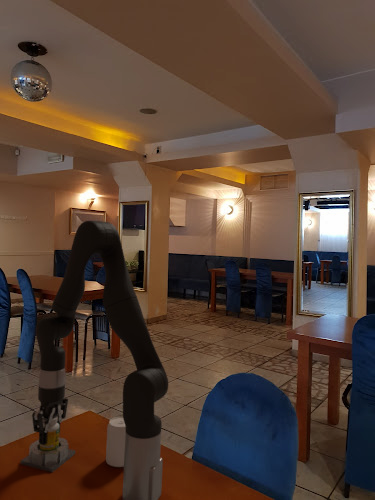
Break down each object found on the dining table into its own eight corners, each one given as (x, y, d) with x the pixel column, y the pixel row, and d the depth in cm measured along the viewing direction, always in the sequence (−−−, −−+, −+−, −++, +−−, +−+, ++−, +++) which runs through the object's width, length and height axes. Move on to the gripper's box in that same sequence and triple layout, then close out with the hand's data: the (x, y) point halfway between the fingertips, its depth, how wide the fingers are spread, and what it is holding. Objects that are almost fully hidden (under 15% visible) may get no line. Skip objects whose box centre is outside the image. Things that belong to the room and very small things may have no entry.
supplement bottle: (40, 445, 121) (42, 414, 121) (59, 444, 122) (60, 413, 122) (38, 454, 115) (39, 421, 115) (57, 453, 117) (59, 420, 117)
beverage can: (100, 463, 117) (101, 423, 117) (117, 451, 124) (118, 413, 124) (122, 472, 114) (124, 430, 113) (138, 459, 121) (140, 419, 121)
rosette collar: (75, 453, 122) (75, 440, 122) (52, 472, 112) (52, 458, 112) (45, 446, 126) (45, 434, 126) (20, 464, 115) (21, 450, 115)
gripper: (46, 392, 111) (44, 453, 111) (76, 377, 124) (74, 431, 124) (24, 388, 113) (22, 448, 113) (56, 374, 127) (54, 427, 127)
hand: (49, 439), depth 119 cm, fingers closed on supplement bottle, 5 cm apart
